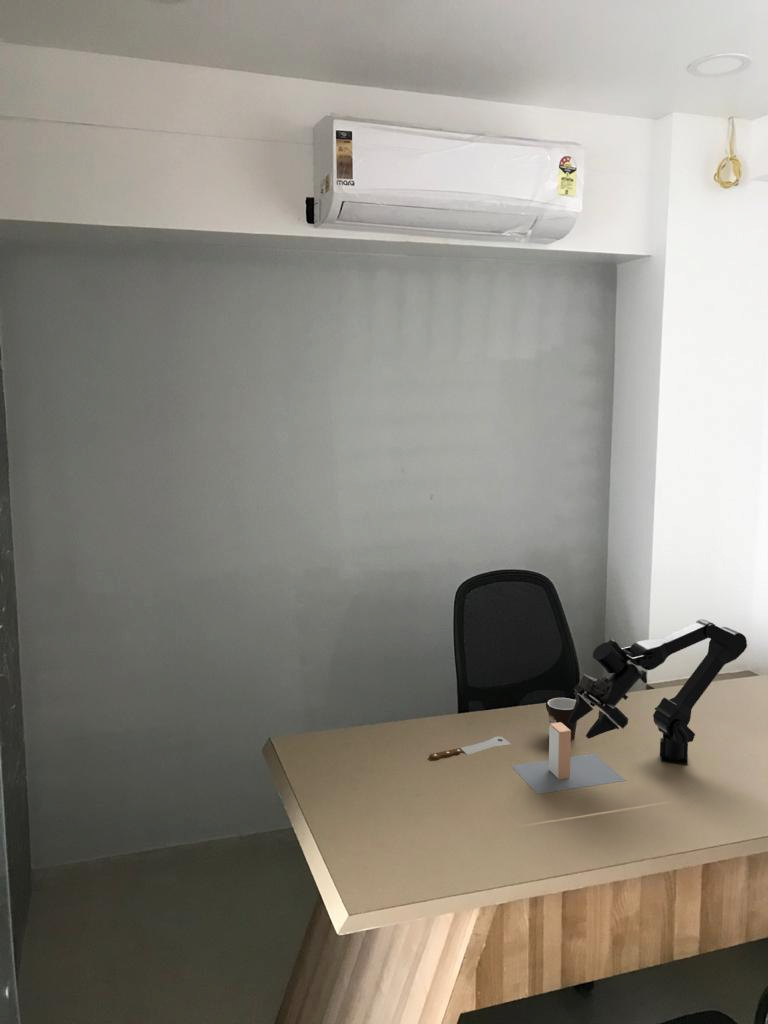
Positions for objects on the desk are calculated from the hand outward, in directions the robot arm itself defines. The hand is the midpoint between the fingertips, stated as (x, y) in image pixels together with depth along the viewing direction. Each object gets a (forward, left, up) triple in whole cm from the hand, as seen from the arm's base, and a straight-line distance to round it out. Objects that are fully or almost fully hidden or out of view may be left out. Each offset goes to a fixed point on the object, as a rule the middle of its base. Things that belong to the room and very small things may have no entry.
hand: (578, 730), depth 219 cm
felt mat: (+2, +2, -12) cm, 12 cm away
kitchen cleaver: (+28, -4, -12) cm, 30 cm away
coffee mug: (+7, -22, -12) cm, 26 cm away
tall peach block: (+4, +3, -11) cm, 12 cm away
